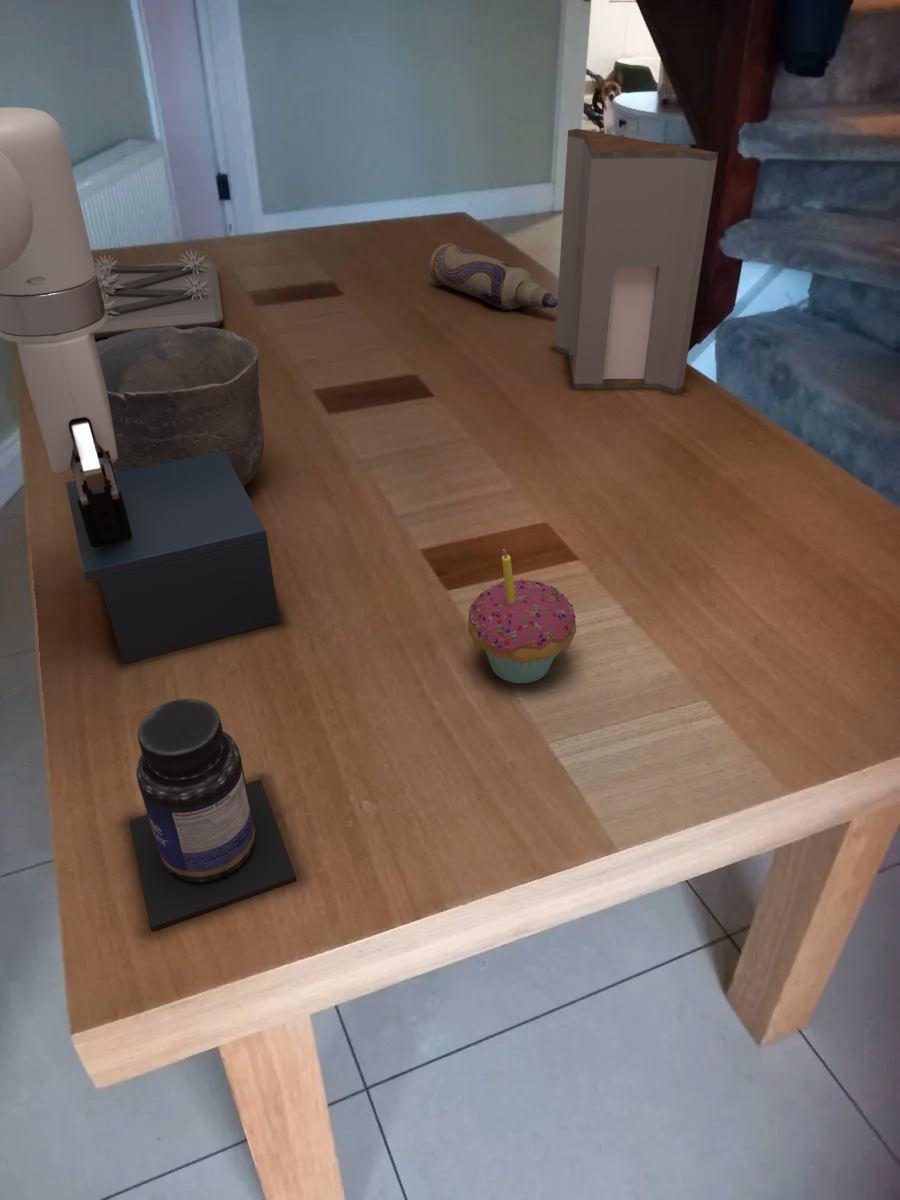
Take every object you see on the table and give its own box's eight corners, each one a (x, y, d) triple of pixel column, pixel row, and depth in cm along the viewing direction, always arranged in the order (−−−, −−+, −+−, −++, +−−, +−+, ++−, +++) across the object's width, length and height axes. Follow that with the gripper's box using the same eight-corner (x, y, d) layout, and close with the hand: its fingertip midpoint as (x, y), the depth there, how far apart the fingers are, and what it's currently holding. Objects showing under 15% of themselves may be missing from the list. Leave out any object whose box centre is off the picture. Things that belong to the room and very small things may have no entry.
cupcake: (515, 714, 70) (521, 586, 63) (445, 659, 75) (443, 536, 68) (594, 667, 74) (607, 543, 67) (522, 618, 80) (528, 498, 73)
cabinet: (682, 390, 118) (718, 152, 102) (634, 412, 113) (663, 165, 96) (562, 346, 131) (576, 128, 114) (514, 364, 126) (522, 138, 109)
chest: (123, 663, 75) (98, 578, 70) (101, 568, 87) (78, 488, 82) (280, 623, 80) (267, 539, 74) (239, 537, 91) (226, 459, 86)
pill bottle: (156, 825, 61) (119, 703, 55) (247, 800, 63) (222, 679, 56) (167, 899, 57) (129, 775, 50) (265, 869, 58) (241, 746, 52)
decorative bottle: (425, 288, 152) (425, 246, 148) (460, 279, 156) (460, 238, 152) (535, 330, 136) (537, 284, 132) (570, 318, 140) (574, 274, 136)
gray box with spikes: (225, 330, 137) (217, 282, 133) (74, 344, 133) (61, 295, 129) (217, 271, 161) (210, 229, 156) (89, 282, 157) (78, 238, 152)
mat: (152, 931, 55) (150, 927, 55) (130, 824, 62) (129, 820, 62) (296, 880, 58) (296, 876, 58) (261, 782, 65) (260, 778, 65)
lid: (86, 580, 70) (68, 522, 67) (67, 490, 81) (51, 436, 78) (267, 538, 74) (258, 481, 71) (225, 458, 86) (216, 406, 83)
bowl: (122, 552, 89) (83, 408, 80) (91, 474, 102) (54, 342, 93) (297, 507, 95) (279, 369, 86) (247, 439, 108) (227, 313, 99)
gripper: (-13, 278, 71) (48, 477, 81) (-5, 355, 58) (67, 580, 68) (89, 265, 73) (135, 460, 83) (118, 337, 60) (169, 557, 71)
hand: (104, 514), depth 76 cm, fingers open, 8 cm apart
